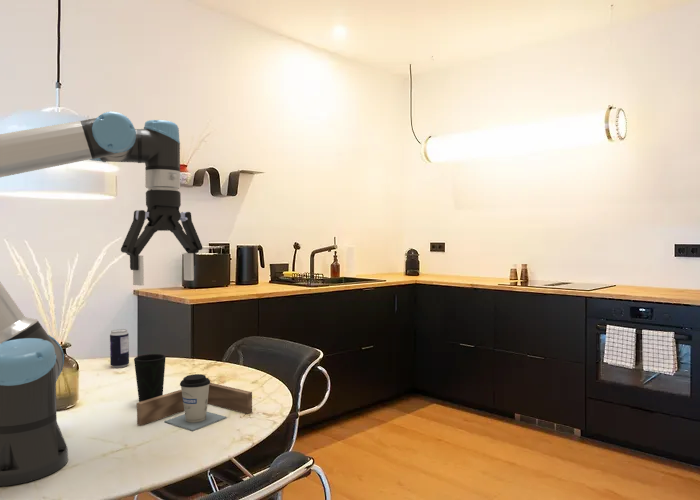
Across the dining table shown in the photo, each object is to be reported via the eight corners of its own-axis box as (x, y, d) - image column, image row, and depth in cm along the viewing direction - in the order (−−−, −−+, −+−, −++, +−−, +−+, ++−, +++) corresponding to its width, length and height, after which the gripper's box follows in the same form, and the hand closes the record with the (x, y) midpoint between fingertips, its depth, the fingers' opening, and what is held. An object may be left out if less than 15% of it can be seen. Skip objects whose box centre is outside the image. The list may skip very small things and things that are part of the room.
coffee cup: (200, 411, 130) (199, 371, 129) (216, 418, 125) (216, 376, 125) (174, 419, 124) (173, 377, 124) (190, 426, 120) (190, 382, 119)
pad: (192, 431, 118) (192, 429, 118) (164, 422, 123) (164, 421, 123) (226, 418, 126) (226, 416, 126) (198, 410, 132) (198, 409, 132)
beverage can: (126, 363, 180) (125, 328, 180) (131, 366, 176) (130, 330, 175) (108, 366, 176) (107, 330, 176) (113, 369, 172) (112, 332, 172)
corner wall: (183, 439, 113) (183, 416, 113) (137, 424, 122) (136, 402, 122) (252, 412, 130) (252, 392, 130) (206, 400, 139) (206, 381, 139)
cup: (155, 408, 133) (155, 361, 133) (128, 407, 135) (127, 360, 134) (172, 399, 141) (171, 354, 140) (146, 397, 142) (145, 353, 142)
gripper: (123, 185, 109) (125, 288, 109) (216, 192, 129) (217, 279, 130) (102, 187, 113) (104, 286, 114) (195, 193, 133) (197, 277, 134)
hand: (164, 282), depth 122 cm, fingers open, 13 cm apart
